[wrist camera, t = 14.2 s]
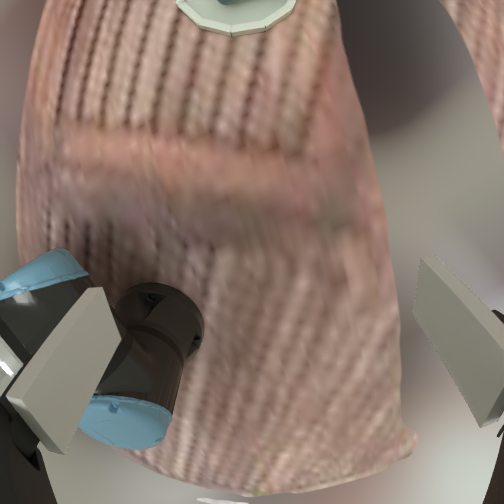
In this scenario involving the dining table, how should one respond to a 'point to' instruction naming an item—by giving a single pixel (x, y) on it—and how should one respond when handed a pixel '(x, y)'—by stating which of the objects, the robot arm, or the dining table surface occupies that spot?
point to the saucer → (236, 15)
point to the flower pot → (227, 1)
